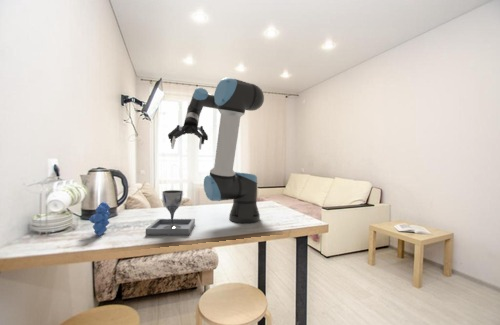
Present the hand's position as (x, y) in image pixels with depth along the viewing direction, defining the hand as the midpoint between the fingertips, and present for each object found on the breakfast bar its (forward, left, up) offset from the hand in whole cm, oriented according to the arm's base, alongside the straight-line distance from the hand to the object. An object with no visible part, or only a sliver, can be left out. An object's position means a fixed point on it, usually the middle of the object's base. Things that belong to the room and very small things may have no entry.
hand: (186, 147), depth 113 cm
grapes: (+27, +25, -36) cm, 51 cm away
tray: (+1, +20, -35) cm, 41 cm away
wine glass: (+1, +20, -35) cm, 40 cm away
